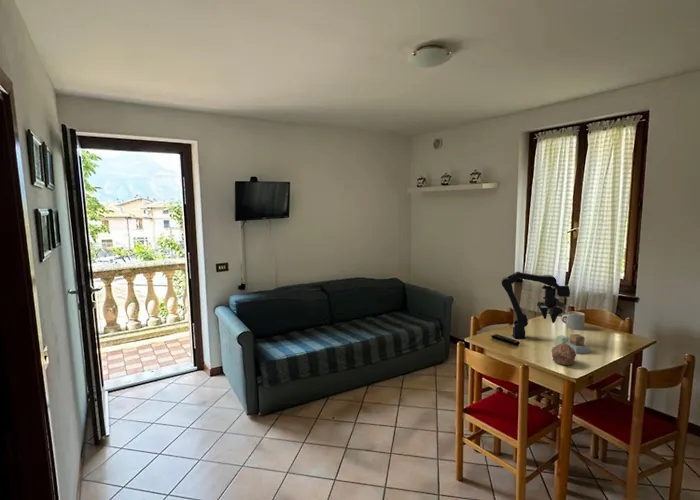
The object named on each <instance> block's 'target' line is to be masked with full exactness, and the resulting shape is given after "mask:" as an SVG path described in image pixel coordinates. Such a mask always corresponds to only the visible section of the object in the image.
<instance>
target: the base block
mask: <svg viewBox="0 0 700 500" xmlns="http://www.w3.org/2000/svg"><path fill="white" fill-rule="evenodd" d="M566 344H568V345H569V346H570V347H571V348H573V349H574V351H575V352H576V355H577V354H586V353H589V348H590V345H587V344H586V343H584V346H575V345H573V344H571V343H570V341H567V343H566Z"/></svg>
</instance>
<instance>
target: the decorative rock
mask: <svg viewBox="0 0 700 500" xmlns="http://www.w3.org/2000/svg"><path fill="white" fill-rule="evenodd" d="M550 351H551V356H552V357H551V358H552V361H553V362H555V363H557V365H564V366H571V365H572V364H573V363H574V361H575V359H576V357H577V354H576V352H575V351H574V349H573V348H571V347H570V346H569V345H568V344H566V343H561V344H560V343H558V344H557V345H556V346H554V347H553V346H552V348H551V350H550Z"/></svg>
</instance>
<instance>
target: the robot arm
mask: <svg viewBox="0 0 700 500" xmlns="http://www.w3.org/2000/svg"><path fill="white" fill-rule="evenodd" d="M519 279H520V280H526V281H532V282H537V283H542V284H543V285H542V286H541V289H543V290H544V296H543V300H544V301H538V302H537V303H536V306H537V307H538V309H539V311H540V313H541V316H542V317H543V319H544V320H546V319H547V317H548V310H549V315H550V316H549V317H550V319H551V323H552V324H555V322H556V321H557V318H558V316H559V315H562V314H563V313H564V307H565V306H566V305H565V304H566V303H565V302H563V301H560V299H558V298H560V297H561V298H563V297H564V298H570V296H571V292H570V286H569V285H560V284H558V283H557V279H556V277H554V276H553V275H552V274H551V275H550V274H548V275H547V274H543V275H542V274H541V275H539V274H533V273H526V272H521V271H516V272H514V273H513V274H510V275H508V276H505V277H503V278H501V280H500V282H501V285H502V288H503V289H504V290H505V292H506V293H507V296H508V297H509V301H510V302H511V306H512V307H513V310H514V312H515V316H516V317H515V318H516V320H514V321H513V327H512V334H511V337H512V338H514V339H516V340H517V339H518V340H519V339H520V340H521V339H522V340H523V339H524V340H525V339H526V329H525V327H527V326H528V324H529V318H528V317H527V313H526V312H525V311H524V312H523V311H522V310H521V307H520V305H519V302H518V300H517V298H516V295H515V293H514V288H513V284H514V283H515V282H517V281H518V280H519ZM556 295H557V296H558V298H557V297H556Z"/></svg>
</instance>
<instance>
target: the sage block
mask: <svg viewBox="0 0 700 500" xmlns="http://www.w3.org/2000/svg"><path fill="white" fill-rule="evenodd" d="M568 339H569V338H568V336H565V335H563V334H560V335H556V343H557V344H561V343H567V342H568Z"/></svg>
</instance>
